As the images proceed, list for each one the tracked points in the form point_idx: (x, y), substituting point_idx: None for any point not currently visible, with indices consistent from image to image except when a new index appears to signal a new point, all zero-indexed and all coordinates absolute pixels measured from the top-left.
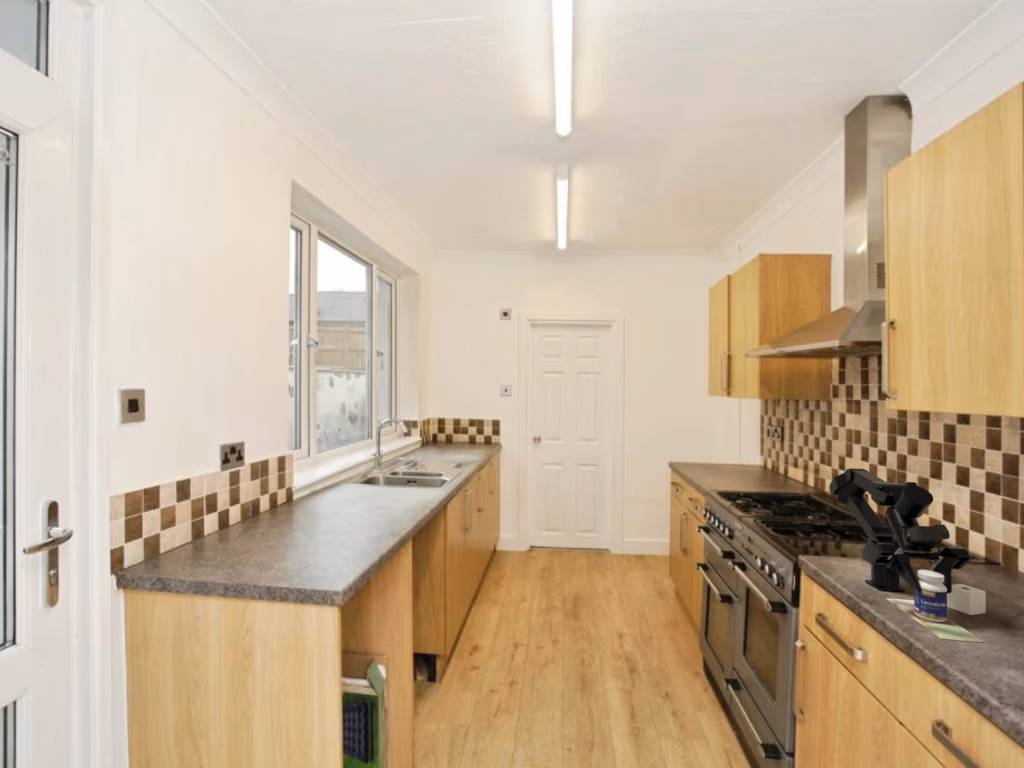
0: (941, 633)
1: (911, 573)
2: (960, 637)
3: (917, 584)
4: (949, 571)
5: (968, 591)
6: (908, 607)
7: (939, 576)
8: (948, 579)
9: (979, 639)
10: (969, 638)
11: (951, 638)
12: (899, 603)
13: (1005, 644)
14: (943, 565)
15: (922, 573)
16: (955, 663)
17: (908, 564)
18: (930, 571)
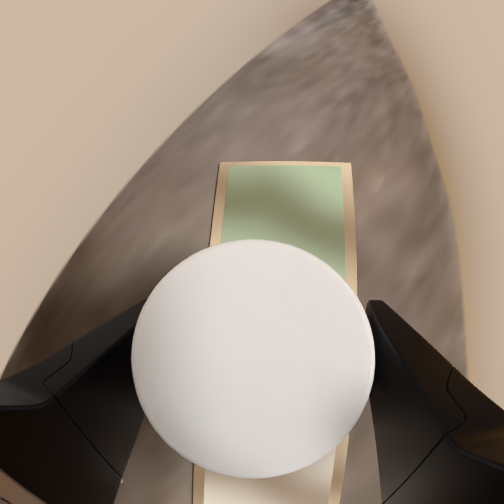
0: (330, 194)
1: (434, 370)
2: (278, 177)
3: (388, 313)
4: (45, 368)
5: None
6: None
7: (212, 263)
8: (112, 332)
9: (220, 177)
10: (251, 175)
11: (316, 163)
12: (316, 492)
13: (159, 171)
14: (35, 416)
15: (359, 326)
16: (378, 59)
17: (471, 440)
18: (201, 428)
